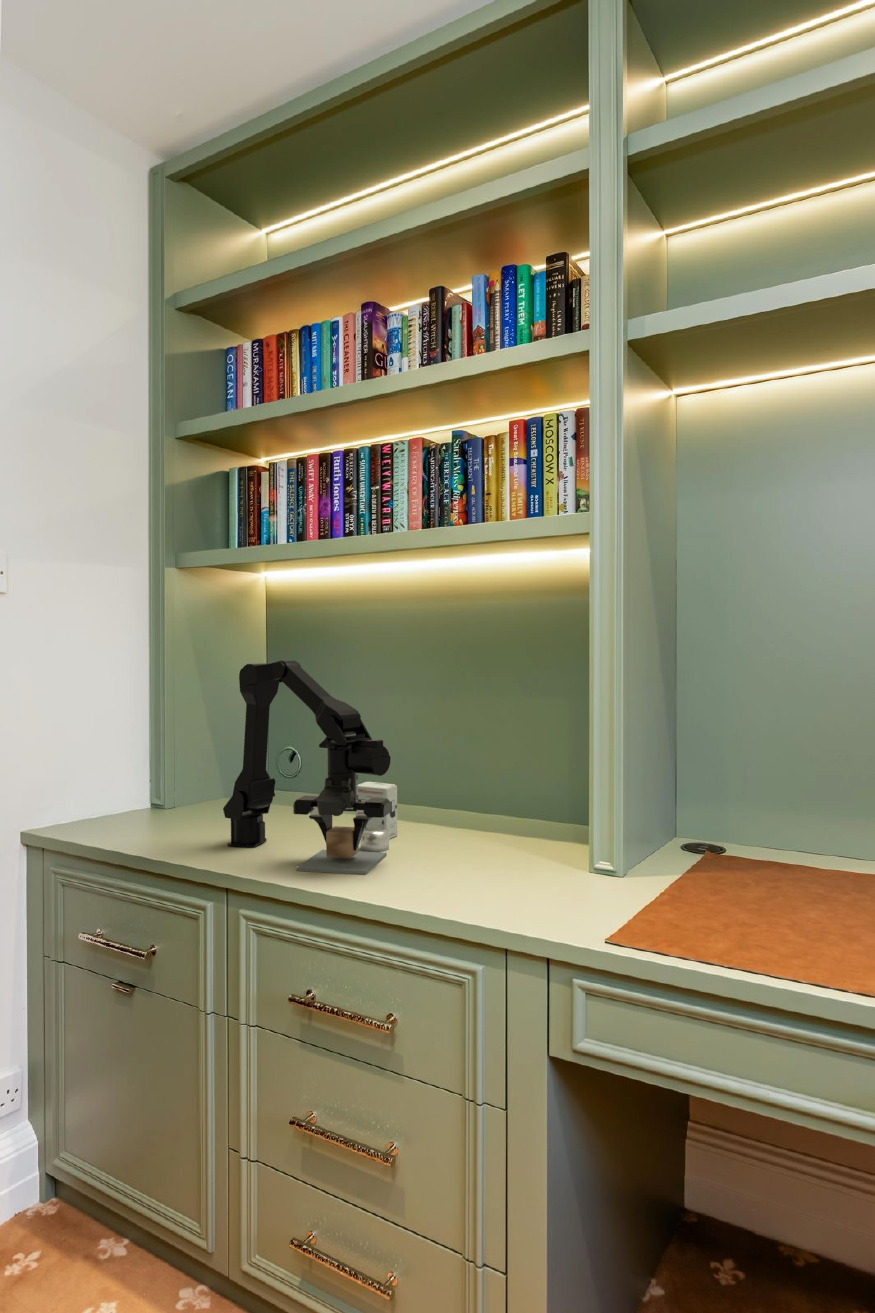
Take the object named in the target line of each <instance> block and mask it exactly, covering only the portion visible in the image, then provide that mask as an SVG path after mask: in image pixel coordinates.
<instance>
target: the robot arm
mask: <svg viewBox="0 0 875 1313" xmlns="http://www.w3.org/2000/svg"><path fill="white" fill-rule="evenodd" d="M238 674H239V675H238V678H239V679H238V680H239V693H240V694H241V696H242V698H243V700H244V702H245V706H246V707H245V720H244V722H245V724H244V725H245V726H244V742H243V757H242V758H243V759H242V760H243V761H242V770H241V771H240V772H239V775H238V777H237V778H236V780H235V781H234V786H233V790H232V795H231V797H230V798H229V800H228V801H227V802H226V804H225V805H224V806H223V808H222V810H223V814H224V818H225V819H230V841H229V842H228V843H227V847H244V848H246V847H247V848H256V847H257V846H259V845H261V844H263V843H264V842H266V841H267V837H266V822H265V821H264V815H267V814H269V811H270V808H271V805H272V803H273V800H274V797H275V796H276V793H275V786H276V779H275V778H274V777H271V776H270V774H269V773H268V770H267V762H268V761H267V759H268V758H267V757H268V742H269V740H268V739H269V726H270V711H271V710H270V707H271V704H272V702H273V700H274V698H275V697H276V696H277V694H278V691H279V685H280V683H283V684H284V685H285V686H286V687H287V688H288V689H289V690H290V691H291V692H292V693H293V694H294V695H296V697H298V698H299V700H301V702H302V703H304V705H305V706H306V707H308V709H310V711H311V712H312V713H313V714H314V716H315V722H316V725H317V726H318V727H319V729H320V730H321V732H322V733H323V734H324V735H325V738H324V740H323V741H321V742H320V743H319V744H318V747H319V748H321V749H326V750H327V751H326V752H327V754H326V755H327V758H326V759H327V760H326V763H327V764H326V766H327V777H325V782H324V787H323V789H322V791H321V792H320V793H319V795H303V796H301V797H299V798H297V799H295V801H294V803H293V808H292V809H293V810H292V811H293V812H292V813H293V815H304V816H305V815H309V814H310V815H309V816H308V818H309V819H310V820H313V821H314V822H316V824H317V825H318V826H319V829H320V831H321V833H322V835H323V840H324V841H325V843H326V832H327V831H328V830H330V829H331V828H333V816H334V817H340V816H342V815H343V814H344V812H355V813H356V812H357V816H356V815H355V817H353V818H352V821H353V825H354V826H353V827H354V839H353V847H354V851H356V850H357V848H358V845H359V844H361V837H362V834H363V832H364V829H365V827H366V825H367V823H368V821H369V820H370V819H371V818H373V817H375V818H382V817H385V816H386V815H387V814H389V813H390V812H391V803H390V801H389V800H388V799H387V798H371V799H369V800H368V801H366V802H357V800H358V795H357V794H356V786H357V781H358V780H359V774H362V775H369V776H370V775H371V776H379V777H381V776H383V775H386V773H387V772H389V771H388V770H389V768H390V766H391V755H390V752H389V750H388V749H387V748H386V747H385V746H384V740H383V739H374V740H373V739H372V737H371V735H370V733H369V731H368V729H367V728H366V725H365V723H363V720H362V718H361V714H360V712H359V711H358V710H357V709H356V708H354V707H353V706H351V705H350V704H348V703H347V702H345V701H342V700H339V699H336V698H335V697H333V696H332V695H331V694H329V693H328V692H327V691H326V690H325V689H324V688H323V687H322V686H321V685H320V684H319V683H318V682H317V681H316V680H315V679H314V678H313V677H312V676H311V675H310V674H309V673H308V672H306V671H305V670H304V669H303V668H302V667H301V663H299V662H298V661H296V660H294V659H292V660H290V659H289V660H288V659H286V660H284V659H283V660H277V661H275V662H272V663H271V662H269V663H268V662H267V663H266V662H265V663H263V662H262V663H246V664H245V665H244V666H243V667H242V668H240V670H239V673H238Z"/></svg>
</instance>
